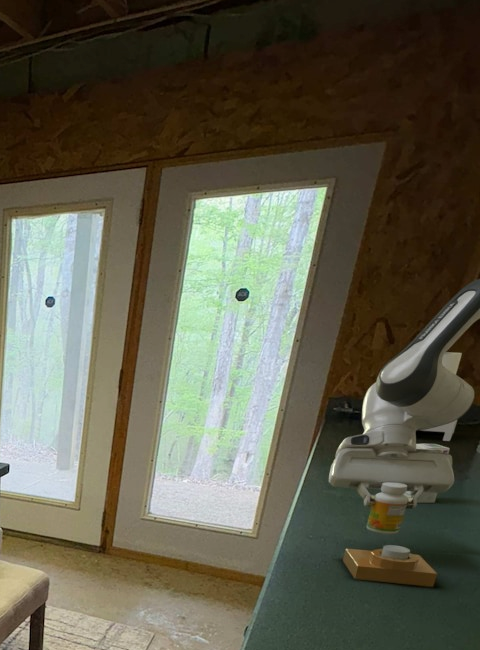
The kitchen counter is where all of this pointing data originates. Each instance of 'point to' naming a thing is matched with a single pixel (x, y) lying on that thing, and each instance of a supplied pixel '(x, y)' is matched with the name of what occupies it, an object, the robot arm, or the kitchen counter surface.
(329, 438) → the kitchen counter surface
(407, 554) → the grey button cap
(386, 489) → the supplement bottle
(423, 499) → the syrup box
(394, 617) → the kitchen counter surface
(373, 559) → the button base
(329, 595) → the kitchen counter surface
